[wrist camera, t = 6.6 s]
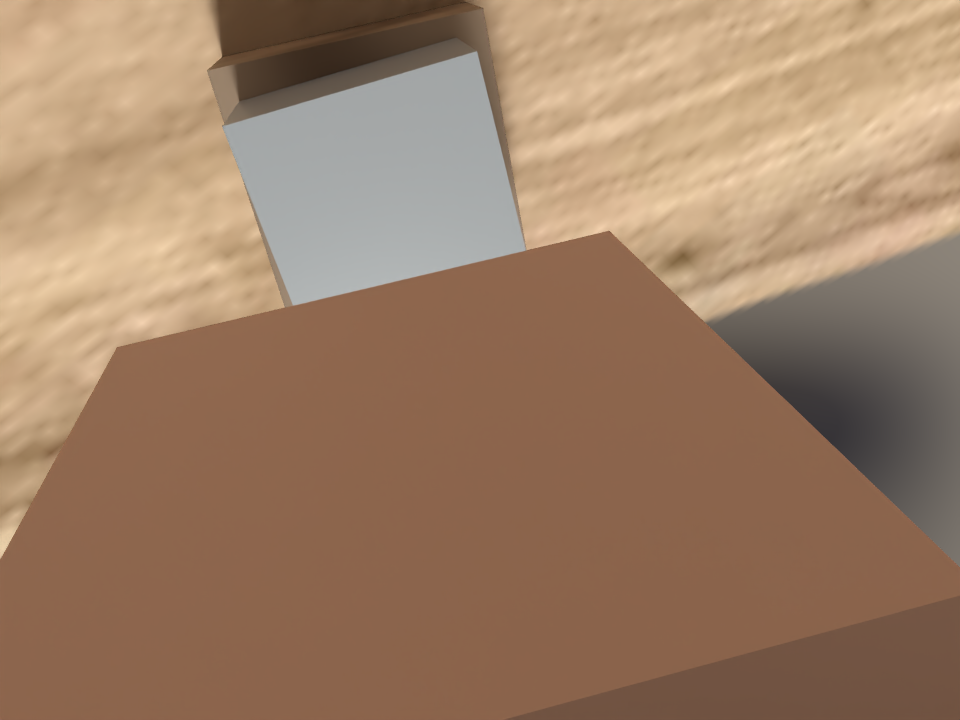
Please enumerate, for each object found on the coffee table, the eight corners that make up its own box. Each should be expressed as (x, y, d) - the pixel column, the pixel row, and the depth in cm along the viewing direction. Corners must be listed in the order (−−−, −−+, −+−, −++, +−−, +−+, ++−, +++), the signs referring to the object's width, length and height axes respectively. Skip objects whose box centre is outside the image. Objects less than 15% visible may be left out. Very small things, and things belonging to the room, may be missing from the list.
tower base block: (463, 1, 28) (483, 8, 24) (507, 231, 31) (529, 266, 28) (223, 55, 27) (206, 70, 24) (295, 282, 31) (290, 324, 27)
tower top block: (456, 37, 24) (476, 51, 21) (509, 244, 27) (535, 287, 24) (239, 101, 24) (222, 126, 21) (315, 302, 27) (312, 354, 23)
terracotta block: (609, 230, 9) (982, 588, 4) (654, 600, 12) (924, 1126, 6) (116, 346, 9) (-191, 906, 4) (269, 702, 11) (216, 1348, 6)
